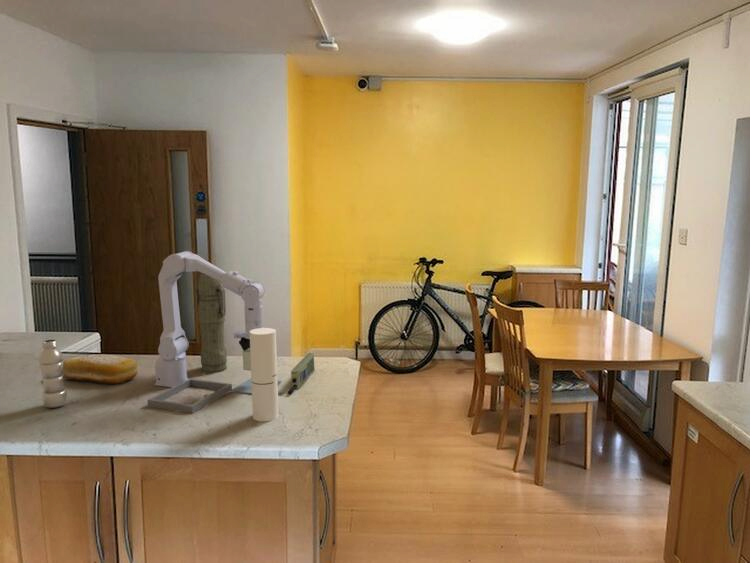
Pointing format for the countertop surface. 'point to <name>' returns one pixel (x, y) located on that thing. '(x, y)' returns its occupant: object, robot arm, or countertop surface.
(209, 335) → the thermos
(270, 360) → the cylindrical container
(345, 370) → the countertop surface
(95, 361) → the bread
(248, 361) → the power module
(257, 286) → the robot arm
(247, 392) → the rubber mat
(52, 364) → the plastic bottle
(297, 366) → the handheld radio
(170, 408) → the gray rectangular frame
